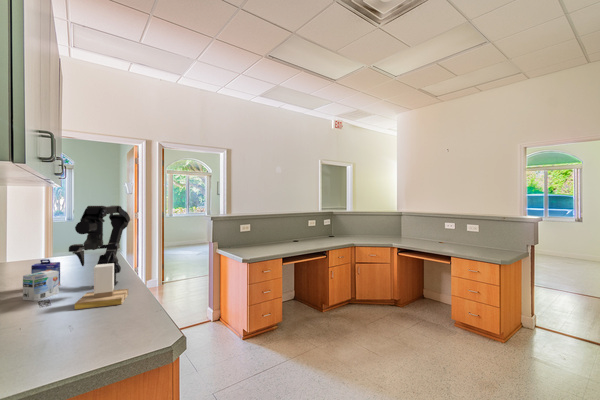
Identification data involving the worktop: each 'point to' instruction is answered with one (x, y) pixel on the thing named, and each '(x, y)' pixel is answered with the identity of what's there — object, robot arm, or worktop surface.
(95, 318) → the worktop surface
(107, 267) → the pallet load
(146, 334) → the worktop surface
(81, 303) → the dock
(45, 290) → the light bulb box
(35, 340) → the worktop surface
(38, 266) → the ink cartridge box
